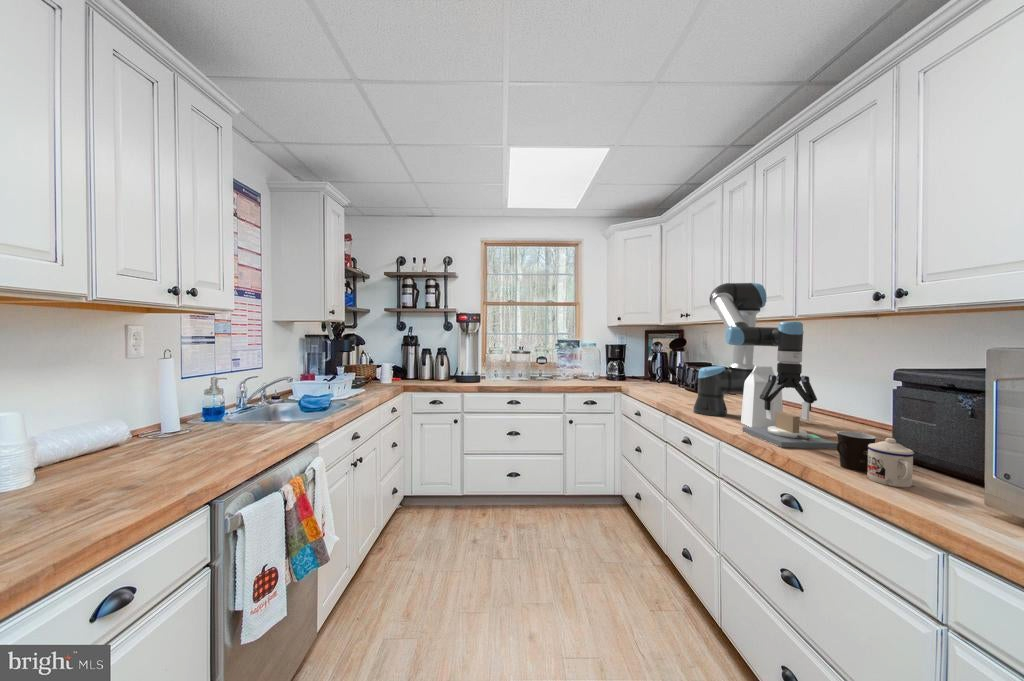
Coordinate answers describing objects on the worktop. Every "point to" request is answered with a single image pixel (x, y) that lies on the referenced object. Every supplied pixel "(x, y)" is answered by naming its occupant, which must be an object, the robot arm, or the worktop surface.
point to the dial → (787, 426)
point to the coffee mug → (854, 450)
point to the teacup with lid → (890, 463)
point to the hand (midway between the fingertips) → (787, 419)
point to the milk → (758, 399)
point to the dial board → (790, 439)
